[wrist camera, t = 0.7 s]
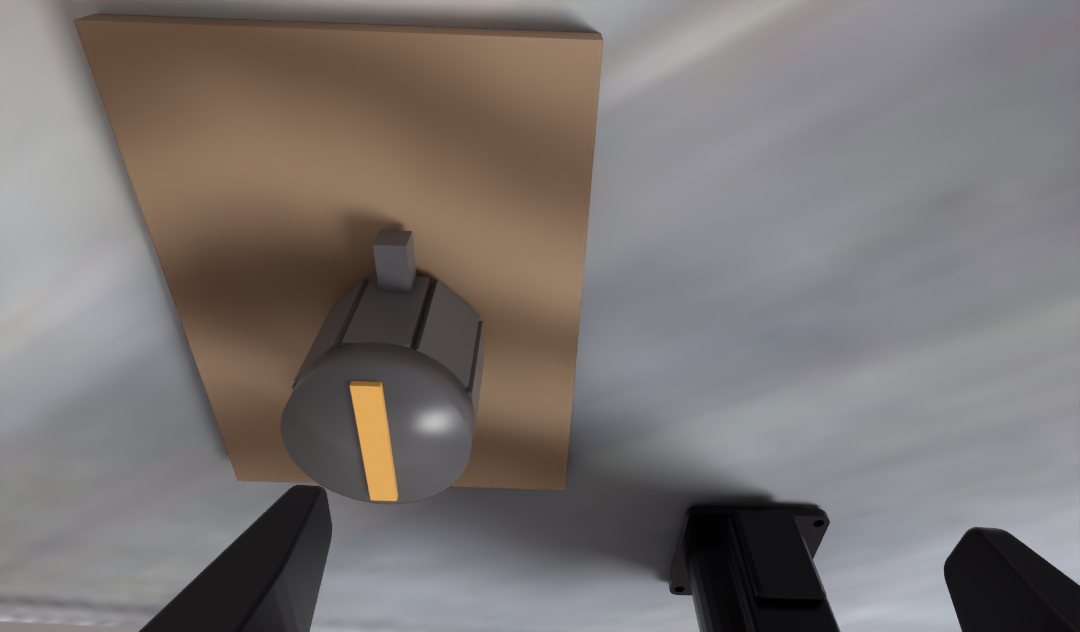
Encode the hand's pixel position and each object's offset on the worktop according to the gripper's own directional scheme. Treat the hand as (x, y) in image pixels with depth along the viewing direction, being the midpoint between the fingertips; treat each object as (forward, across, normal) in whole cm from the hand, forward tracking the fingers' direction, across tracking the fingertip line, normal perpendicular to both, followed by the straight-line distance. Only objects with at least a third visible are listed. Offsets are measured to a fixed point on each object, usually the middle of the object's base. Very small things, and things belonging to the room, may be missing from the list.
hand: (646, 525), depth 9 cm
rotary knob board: (+13, +7, +5) cm, 16 cm away
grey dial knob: (+12, +6, +5) cm, 14 cm away
